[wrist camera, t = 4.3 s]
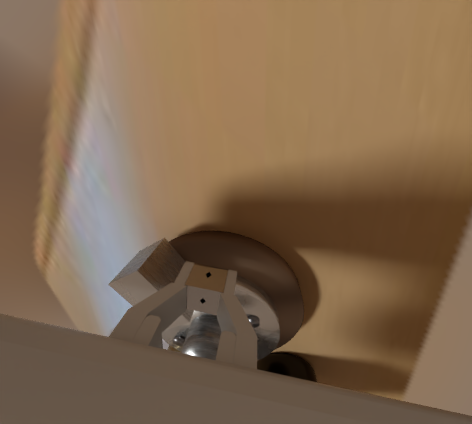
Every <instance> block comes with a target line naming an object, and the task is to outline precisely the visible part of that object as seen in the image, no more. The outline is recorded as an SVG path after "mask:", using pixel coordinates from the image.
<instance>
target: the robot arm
mask: <svg viewBox="0 0 472 424" xmlns="http://www.w3.org/2000/svg"><path fill="white" fill-rule="evenodd" d="M236 278H237V271H234V270H228V269H223V268H218V267H213V266H207V265H203V264H198V263H193V262H189V261H186V262H185V263H184V265H183V267H182V269H181V271H180V273H179V275H178V277H177V278H176V280H175V282H174V283H170V284H168V285H167V286H165V287H164V288H162V289H160V290H159V291H157V292H155V293H154V294H152V295H151V296H149V297H147V298H146V299H144V300H143V301H141V302H139V303H138V304H136V305H134V306H133V307H131V308H130V309H128V311H127V312H126V313H125V315H124V316H123V318H122V319H121V320H120V322H119V323H118V325H117V326H116V327H115V329H114V330H113V332H112V333H111V335H110V336H109V337H106V336H101V335H97V334H92V333H88V332H83V331H78V330H74V329H69V328H65V327H60V326H55V325H50V324H45V323H42V322H37V321H33V320H28V319H23V318H19V317H14V316H9V315H5V314H0V424H472V416H469V415H465V414H460V413H455V412H450V411H446V410H442V409H437V408H432V407H428V406H423V405H418V404H414V403H409V402H405V401H400V400H396V399H391V398H386V397H382V396H377V395H373V394H368V393H363V392H359V391H354V390H350V389H345V388H340V387H336V386H331V385H327V384H322V383H317V382H313V381H308V380H304V379H299V378H294V377H290V376H285V375H281V374H276V373H271V372H267V371H262V370H258V369H257V335H256V333H255V331H254V329H253V327H252V325H251V323H250V321H249V319H248V317H247V315H246V314H245V312H244V310H243V308H242V306H241V304H240V302H239V300H238V298H237V296H235V295H234V292H235V285H236ZM186 309H188V310H193V311H199V312H204V313H208V314H212V315H216V316H217V319H218V322H219V325H220V329H221V332H222V333H221V335H220V340H219V345H218V350H217V355H216V360H212V359H207V358H203V357H198V356H194V355H189V354H184V353H180V352H175V351H170V350H166V349H163V346H162V332H163V331H164V330H166V329H167V328H168V327H169V326H170V325H171V324H172V323H173V322H174V321H175V320H176V319H177V318H178V317H180V316H181V315H182V314H183V313H184V312H185V311H186Z"/></svg>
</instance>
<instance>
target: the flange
mask: <svg viewBox="0 0 472 424" xmlns="http://www.w3.org/2000/svg"><path fill="white" fill-rule="evenodd" d="M184 263H185V261H184V259H183V258H182V257H181V256H180V255H179V254H178V253H177V251H176V250H175V249H174V248H173V247H172V246H171V244H170V243H169V242H168V241H167V240H166V239H165V238H163V239H161V240H159V241H157V242H155V243H153V244H152V245H150V246H148V247H146V248H144V249H142V250H140V251H139V252H138V253H137V254H136V256H135V257H134V258H133V259H132V260H131V261H130V262H129V263H128V264H127V265H126V266H125V267H124V268H123V269H122V270H121V271H120V273H119V274H118V275H117V276H116V277H115V278H114V279H113V280H112V281H111V282H110V283H109V285H110V286H111V287H112V288H113V289H114V290H115V291H116V292H118V293H119V294H120V295H121V296H122V297H123V298H124V299H126V300H127V301H128V302H129V303H130V304H131V305H132V306H134V305H136V304H138V303H139V302H141V301H143V300H144V299H146V298H147V297H149V296H151V295H152V294H154V293H155V292H157V291H159V290H160V289H162V288H164V287H165V286H167V285H168V284H170V283H174V282H175V280H176V278H177V277H178V275H179V273H180V271H181V269H182V267H183V265H184ZM234 295H235V296H237V298H238V300H239V302H240V304H241V306H242V308H243V310H244V312H245V314H246V315H247V317H248V319H249V321H250V323H251V325H252V327H253V329H254V331H255V333H256V335H257V361H258V360H260V359H262V358H264V357H266V356H267V355H269V354H270V353H271V352H272V351H273V350H274V349H275V348H276V346H277V344H278V342H279V338H280V328H279V317H278V311H277V308H276V306H275V304H274V302H273V300H272V299H271V298H270V296H269V295H268V294H267V293H266V292H265V291H264V290H263V289H262V288H260V287H259V286H258V285H256V284H255V283H253V282H251V281H250V280H248V279H246V278H243V277H241V276H239V275H237V278H236V285H235V292H234ZM221 333H222V332H221V329H220V325H219V322H218V319H217V316H216V315H212V314H208V313H204V312H199V311H193V310H188V309H186V311H185V312H184V313H183V314H182V315H181V316H180V317H178V318H177V319H176V320H175V321H174V322H173V323H172V324H171V325H170V326H169V327H168V328H167V329H166V330H164V331H163V332H162V338H163V339H164V340H165V341H166V342H167V343H168V344H169V345H171V346H172V347H173V348H175V349H177V350H178V351H180V352H181V353H184V354H189V355H194V356H198V357H203V358H207V359H212V360H216V355H217V350H218V345H219V340H220V335H221Z"/></svg>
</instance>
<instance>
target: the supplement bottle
mask: <svg viewBox="0 0 472 424" xmlns="http://www.w3.org/2000/svg"><path fill="white" fill-rule="evenodd" d="M257 369H258V370H262V371H267V372H271V373H276V374H281V375H285V376H290V377H294V378H299V379H304V380H308V381H313V382H317V379H316V375H315V372H314V370H313V368H312V367H311V365H310V364H309V363H308V362H306V361H305V360H304V359H302V358H300V357H297V356H294V355H291V354H285V353H272V354H269V355H267V356H266V357H264V358H262V359H260V360H258V361H257Z"/></svg>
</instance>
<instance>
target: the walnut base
mask: <svg viewBox="0 0 472 424" xmlns="http://www.w3.org/2000/svg"><path fill="white" fill-rule="evenodd" d="M169 243H170V244H171V246H172V247H173V248H174V249H175V250H176V251H177V253H178V254H179V255H180V256H181V257H182V258H183V259H184V261H185V262H186V261H189V262H193V263H198V264H203V265H207V266H213V267H218V268H223V269H228V270H234V271H237V275H239V276H241V277H243V278H246V279H248V280H250V281H251V282H253V283H255V284H256V285H258V286H259V287H260V288H262V289H263V290H264V291H265V292H266V293H267V294H268V295H269V296H270V298H271V299H272V300H273V302H274V304H275V306H276V308H277V311H278V317H279V328H280V338H279V342H278V344H277V346H276V348H275V349H277V348H279V347H281V346H283V345H284V344H286V343H287V342H288V341H289V340H291V339H292V338H293V337H294V336H295V334H296V333H297V332H298V330H299V328H300V327H301V324H302V321H303V317H304V305H303V300H302V296H301V291H300V287H299V284H298V281H297V278H296V276H295V274H294V272H293V271H292V269H291V268H290V266H289V265H288V264H287V263H286V262H285V261H284V260H283V259H282V257H281V256H279V255H278V254H277V253H276V252H274V251H273V250H272V249H270V248H268V247H267V246H265V245H263V244H262V243H260V242H257V241H255V240H253V239H251V238H248V237H245V236H242V235H238V234H234V233H229V232H221V231H201V232H193V233H189V234H185V235H182V236H179V237H177V238H175V239H173V240H171V241H169ZM275 349H274V350H275ZM168 350H170V351H175V352H180V351H178V350H177V349H175V348H173V347H172V346H171V345H169V347H168ZM180 353H181V352H180Z"/></svg>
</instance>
